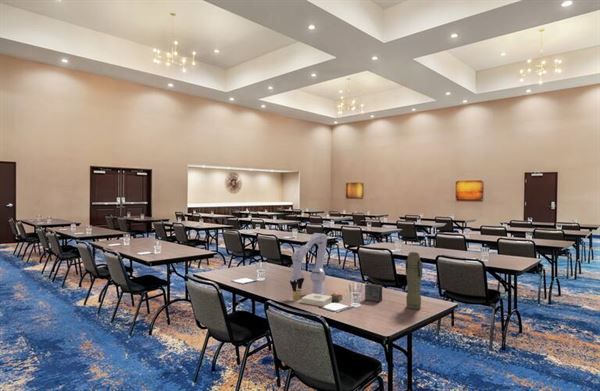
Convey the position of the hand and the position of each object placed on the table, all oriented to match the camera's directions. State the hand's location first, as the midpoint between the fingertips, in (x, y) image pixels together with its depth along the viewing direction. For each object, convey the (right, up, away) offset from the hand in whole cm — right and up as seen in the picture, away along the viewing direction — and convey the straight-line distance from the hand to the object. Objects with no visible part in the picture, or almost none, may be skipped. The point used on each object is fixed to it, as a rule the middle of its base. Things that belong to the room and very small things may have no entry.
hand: (297, 290), depth 246 cm
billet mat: (0, -7, 0) cm, 7 cm away
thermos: (+75, -8, -15) cm, 77 cm away
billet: (0, -7, 0) cm, 7 cm away
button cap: (+26, -5, +1) cm, 27 cm away
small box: (+52, -8, +1) cm, 53 cm away
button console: (+26, -7, +1) cm, 27 cm away
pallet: (+13, -7, -5) cm, 16 cm away
